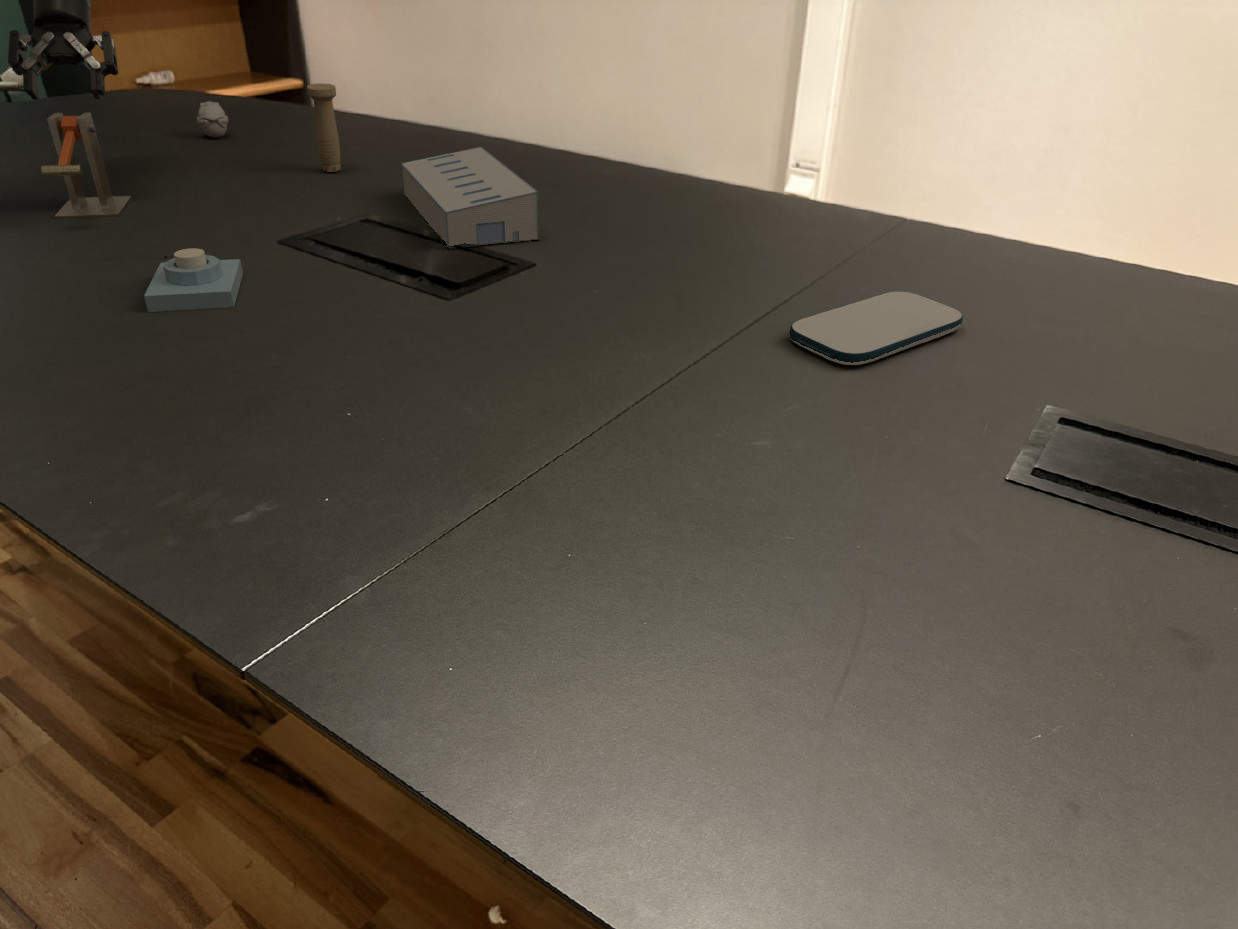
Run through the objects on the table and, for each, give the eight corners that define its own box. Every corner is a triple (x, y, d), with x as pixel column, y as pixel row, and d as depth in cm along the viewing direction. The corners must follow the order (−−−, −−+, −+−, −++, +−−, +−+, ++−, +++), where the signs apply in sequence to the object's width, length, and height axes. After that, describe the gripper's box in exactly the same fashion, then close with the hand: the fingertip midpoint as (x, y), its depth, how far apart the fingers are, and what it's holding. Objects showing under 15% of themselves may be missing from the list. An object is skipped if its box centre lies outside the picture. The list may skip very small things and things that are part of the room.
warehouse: (403, 196, 157) (399, 151, 153) (483, 189, 163) (481, 146, 159) (448, 250, 134) (444, 199, 130) (538, 240, 140) (538, 191, 136)
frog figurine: (230, 132, 193) (223, 98, 190) (232, 140, 188) (226, 104, 184) (199, 134, 191) (192, 99, 187) (201, 141, 186) (194, 105, 182)
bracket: (120, 221, 141) (94, 122, 133) (56, 223, 138) (26, 122, 131) (132, 203, 149) (109, 108, 141) (72, 205, 147) (45, 109, 139)
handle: (320, 176, 166) (308, 90, 159) (317, 167, 172) (306, 83, 164) (347, 175, 168) (336, 89, 160) (343, 166, 173) (333, 83, 165)
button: (205, 270, 114) (202, 256, 113) (174, 271, 113) (171, 258, 112) (208, 260, 117) (206, 247, 116) (179, 261, 116) (176, 248, 115)
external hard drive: (898, 301, 123) (901, 287, 122) (970, 330, 115) (974, 315, 114) (777, 339, 111) (779, 324, 110) (849, 374, 103) (852, 359, 102)
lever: (83, 180, 131) (77, 165, 129) (45, 181, 130) (39, 166, 128) (94, 129, 139) (89, 115, 137) (58, 130, 138) (52, 115, 136)
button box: (234, 307, 113) (227, 277, 111) (148, 312, 111) (140, 281, 109) (243, 274, 123) (237, 245, 121) (164, 278, 121) (157, 249, 119)
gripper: (-1, -16, 133) (0, 80, 130) (104, -15, 136) (108, 80, 133) (21, 19, 140) (22, 111, 137) (121, 20, 143) (125, 110, 140)
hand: (65, 96), depth 135 cm, fingers open, 8 cm apart
